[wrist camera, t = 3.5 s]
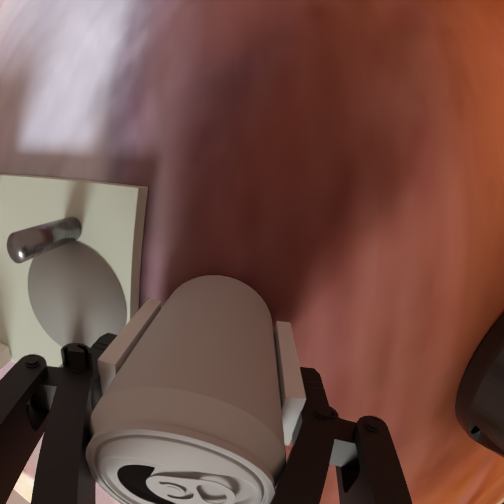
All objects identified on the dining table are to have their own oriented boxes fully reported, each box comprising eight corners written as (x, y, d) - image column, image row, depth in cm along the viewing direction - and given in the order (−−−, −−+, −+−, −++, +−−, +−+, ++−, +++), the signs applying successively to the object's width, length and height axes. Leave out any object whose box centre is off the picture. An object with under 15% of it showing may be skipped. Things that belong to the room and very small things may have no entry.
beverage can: (155, 278, 18) (35, 409, 6) (264, 262, 17) (276, 416, 6) (180, 369, 19) (124, 525, 7) (278, 360, 19) (295, 532, 7)
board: (148, 186, 17) (137, 188, 15) (139, 394, 20) (132, 408, 18) (-57, 171, 16) (-69, 172, 14) (-47, 318, 19) (-56, 324, 18)
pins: (82, 218, 15) (26, 234, 11) (87, 372, 18) (53, 417, 13) (63, 215, 15) (6, 230, 11) (70, 367, 18) (34, 408, 13)
